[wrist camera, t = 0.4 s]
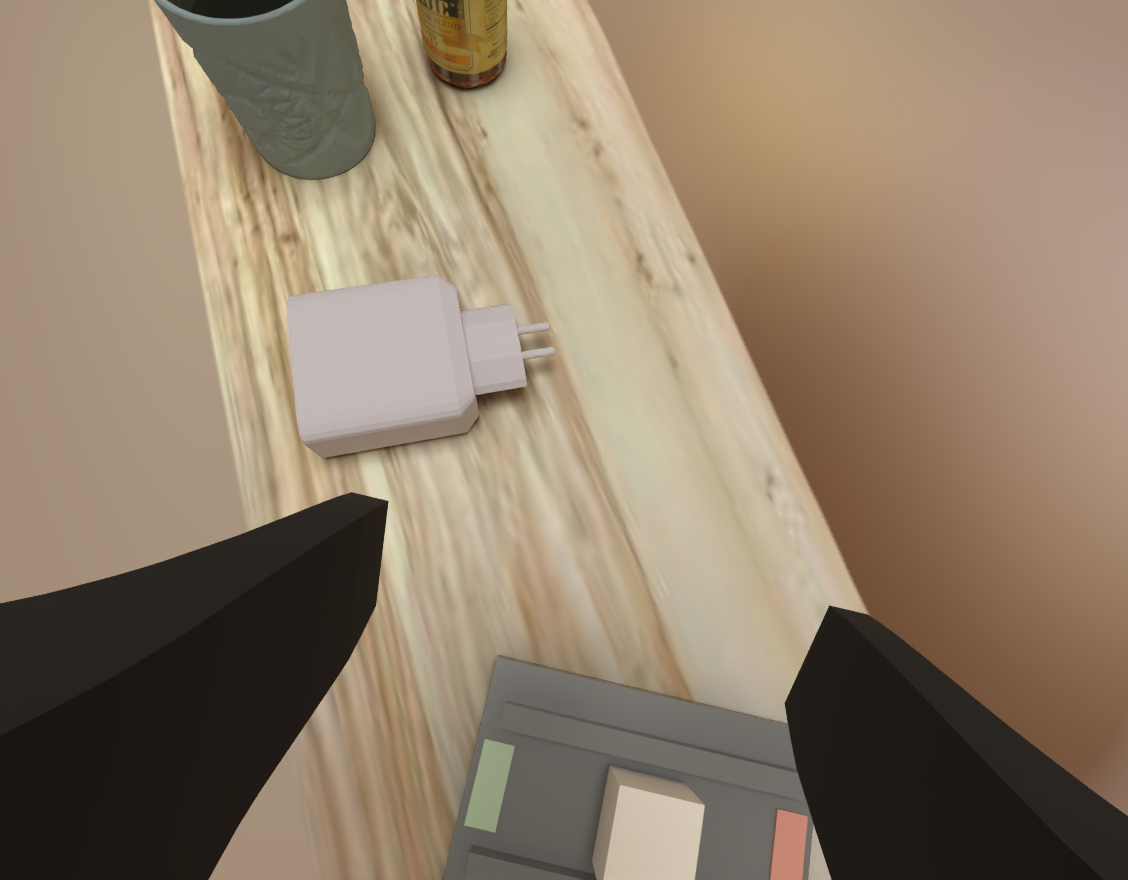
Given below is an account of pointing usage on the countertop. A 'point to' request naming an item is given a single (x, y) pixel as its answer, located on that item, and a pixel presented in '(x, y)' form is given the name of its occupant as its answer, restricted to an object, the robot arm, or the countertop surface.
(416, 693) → the countertop surface
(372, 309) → the charger
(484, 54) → the sauce bottle
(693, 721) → the switch track
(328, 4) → the grey cup
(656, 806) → the slider knob
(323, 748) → the countertop surface
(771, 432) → the countertop surface
